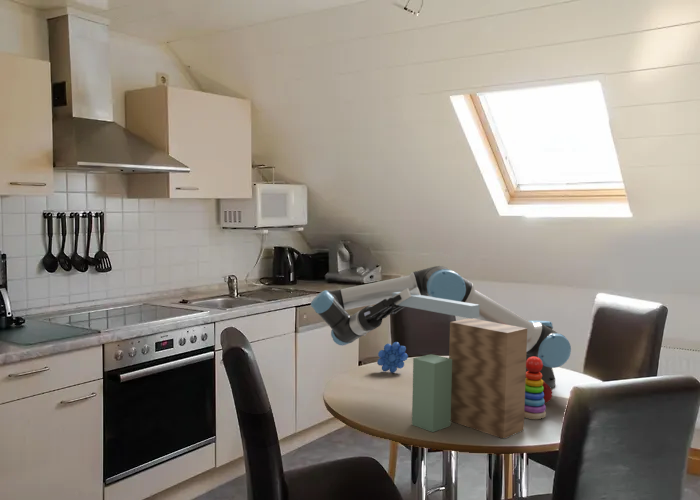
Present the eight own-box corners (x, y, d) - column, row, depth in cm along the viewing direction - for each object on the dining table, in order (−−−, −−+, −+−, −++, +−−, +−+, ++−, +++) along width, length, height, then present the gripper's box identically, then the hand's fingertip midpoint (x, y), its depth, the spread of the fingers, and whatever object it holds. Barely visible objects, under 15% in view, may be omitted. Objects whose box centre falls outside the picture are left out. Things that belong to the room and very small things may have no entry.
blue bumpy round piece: (408, 370, 249) (408, 340, 248) (406, 375, 243) (407, 344, 242) (378, 368, 251) (379, 338, 250) (376, 373, 245) (376, 342, 244)
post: (411, 424, 190) (413, 358, 188) (429, 418, 195) (431, 354, 194) (432, 432, 184) (434, 363, 182) (450, 425, 189) (452, 359, 188)
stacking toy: (515, 411, 203) (517, 353, 201) (540, 411, 203) (542, 353, 202) (524, 420, 195) (526, 359, 193) (550, 420, 195) (552, 359, 194)
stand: (447, 420, 194) (450, 322, 192) (467, 412, 201) (470, 318, 198) (503, 438, 180) (507, 333, 177) (523, 430, 186) (527, 328, 184)
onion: (552, 402, 212) (553, 379, 211) (551, 408, 207) (552, 383, 206) (533, 400, 214) (534, 377, 213) (532, 405, 208) (533, 381, 208)
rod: (392, 304, 197) (392, 292, 197) (399, 302, 199) (400, 291, 199) (471, 318, 175) (471, 306, 175) (479, 317, 177) (479, 304, 177)
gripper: (388, 327, 213) (436, 300, 197) (351, 334, 202) (399, 306, 186) (380, 306, 215) (427, 278, 199) (343, 312, 204) (390, 282, 188)
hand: (413, 292), depth 193 cm, fingers closed on rod, 3 cm apart
